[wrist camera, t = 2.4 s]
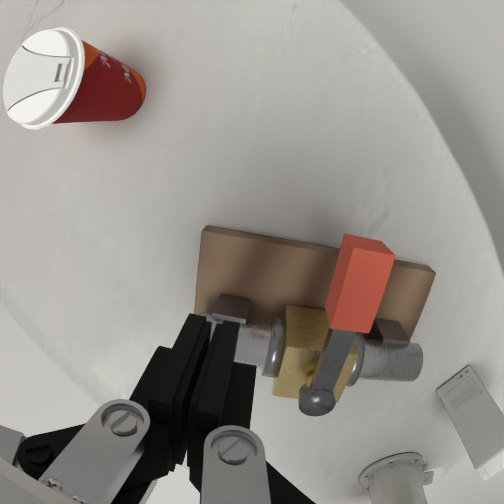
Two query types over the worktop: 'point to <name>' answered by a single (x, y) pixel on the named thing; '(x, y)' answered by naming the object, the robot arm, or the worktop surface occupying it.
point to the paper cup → (68, 82)
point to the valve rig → (303, 309)
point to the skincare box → (475, 421)
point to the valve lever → (347, 315)
